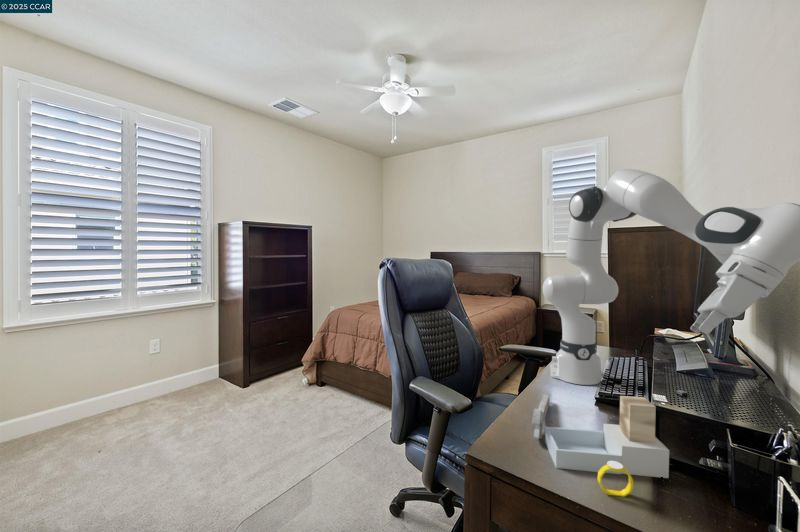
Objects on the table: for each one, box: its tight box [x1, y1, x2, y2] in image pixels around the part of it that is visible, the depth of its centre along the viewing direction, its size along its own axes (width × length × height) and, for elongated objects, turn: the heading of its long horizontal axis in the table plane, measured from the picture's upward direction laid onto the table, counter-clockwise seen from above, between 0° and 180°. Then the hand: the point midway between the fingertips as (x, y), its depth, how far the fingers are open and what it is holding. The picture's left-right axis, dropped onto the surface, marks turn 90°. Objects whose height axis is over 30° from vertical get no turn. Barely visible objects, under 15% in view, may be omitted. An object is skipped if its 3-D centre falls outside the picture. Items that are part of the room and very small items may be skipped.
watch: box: [596, 461, 635, 498], centre depth 69 cm, size 6×3×6 cm, turn 78°
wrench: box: [531, 394, 550, 440], centre depth 98 cm, size 8×2×30 cm
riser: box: [602, 423, 670, 479], centre depth 79 cm, size 10×9×6 cm
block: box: [619, 395, 657, 443], centre depth 79 cm, size 5×5×8 cm
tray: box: [544, 426, 622, 475], centre depth 81 cm, size 11×13×4 cm
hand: (698, 331), depth 74 cm, fingers open, 8 cm apart
